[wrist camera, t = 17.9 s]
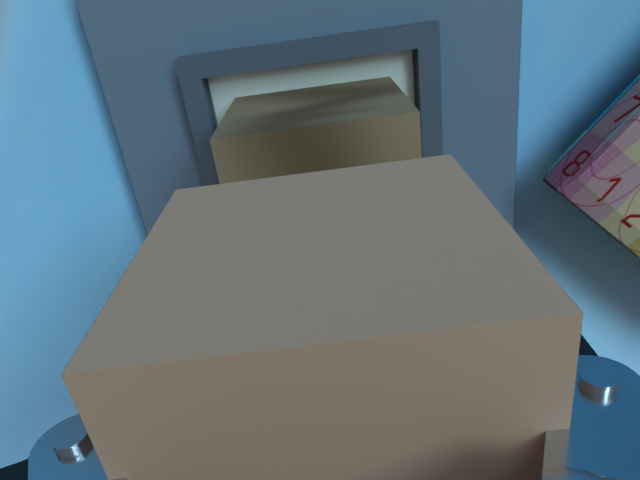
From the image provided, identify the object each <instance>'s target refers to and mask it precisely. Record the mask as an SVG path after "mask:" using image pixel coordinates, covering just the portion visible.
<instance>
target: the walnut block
mask: <svg viewBox="0 0 640 480" xmlns="http://www.w3.org/2000/svg"><path fill="white" fill-rule="evenodd" d="M210 144H211V148H212V153H213V157H214V162H215V166H216V170H217V175H218V179H219V183H220V184H224V183H232V182H239V181H247V180H255V179H263V178H270V177H278V176H286V175H294V174H301V173H309V172H317V171H325V170H332V169H340V168H348V167H356V166H363V165H371V164H379V163H386V162H394V161H402V160H410V159H417V158H422V149H421V126H420V111H419V110H418V109H417V108H416V107H415V106H414V104H413V103H412V102H411V101H410V100H409V98H408V97H407V96H406V95H405V94H404V93H403V91H402V90H401V89H400V88H399V87H398V86H397V84H396V83H395V82H394V81H393V80H392V78H391V77H390V76H389V77H382V78H374V79H367V80H360V81H352V82H345V83H338V84H331V85H323V86H316V87H309V88H301V89H294V90H287V91H279V92H272V93H265V94H258V95H250V96H243V97H236V98H235V99H234V101H233V102H232V104H231V106H230V107H229V109H228V111H227V112H226V114H225V115H224V117H223V119H222V120H221V122H220V124H219V125H218V127H217V129H216V130H215V132H214V134H213V135H212V137H211V139H210Z"/></svg>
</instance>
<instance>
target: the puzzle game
mask: <svg viewBox="0 0 640 480" xmlns="http://www.w3.org/2000/svg"><path fill="white" fill-rule="evenodd" d="M543 180H544V181H545V182H546V183H547V184H548V185H549V186H551V187H552V188H553V189H554V190H555V191H557V192H558V193H559V194H560V195H561V196H563V197H564V198H565V199H566V200H568V201H569V202H570V203H571V204H572V205H574V206H575V207H576V208H577V209H579V210H580V211H581V212H582V213H584V214H585V215H586V216H587V217H588V218H590V219H591V220H592V221H593V222H595V223H596V224H597V225H598V226H599V227H601V228H602V229H603V230H604V231H606V232H607V233H608V234H609V235H611V236H612V237H613V238H614V239H615V240H617V241H618V242H619V243H620V244H622V245H623V246H624V247H625V248H626V249H628V250H629V251H630V252H631V253H633V254H634V255H635V256H636V257H638V258H639V259H640V74H639V75H638V76H637V77H636V78H635V79H634V80H633V81H632V82H631V83H630V84H629V85H628V86H627V87H626V88H625V90H624V91H623V92H622V93H621V94H620V95H619V96H618V97H617V98H616V99H615V100H614V101H613V102H612V103H611V104H610V105H609V106H608V107H607V108H606V109H605V110H604V111H603V112H602V113H601V114H600V115H599V116H598V117H597V119H596V120H595V121H594V122H593V123H592V124H591V125H590V126H589V127H588V128H587V129H586V130H585V131H584V132H583V133H582V134H581V135H580V136H579V137H578V138H577V139H576V140H575V141H574V142H573V143H572V144H571V145H570V146H569V148H568V149H567V150H566V151H565V152H564V153H563V154H562V155H561V156H560V157H559V158H558V159H557V160H556V161H555V162H554V163H553V164H552V165H551V167H550V169H549V170H548V172H547V174H546V175H545V177H544V179H543Z"/></svg>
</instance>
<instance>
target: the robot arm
mask: <svg viewBox="0 0 640 480" xmlns="http://www.w3.org/2000/svg"><path fill="white" fill-rule="evenodd" d="M0 480H108V478H107V475H106V473H105V471H104V469H103V466H102V464H101V462H100V460H99V457H98V455H97V453H96V451H95V448H94V446H93V444H92V442H91V439H90V437H89V435H88V433H87V430H86V428H85V426H84V424H83V421H82V419H81V417H80V415H79V414H78V415H75V416H72V417H70V418H67V419H65V420H63V421H61V422H60V423H58V424H56V425H55V426H53V427H52V428H50V429H49V430H48V431H47V432H46V433H44V434H43V435H42V436H41V437H40V438H39V440H38V441H37V442H36V443H35V445H34V446H33V448H32V450H31V452H30V455H29V459H26V460H24V461H21V462H18V463H16V464H13V465H10V466H7V467H4V468H2V469H0ZM111 480H128V479H127V478H120V479H111ZM542 480H640V376H639V375H638V374H637V373H636V372H635V371H633V370H632V369H630V368H629V367H627V366H625V365H623V364H622V363H619V362H617V361H615V360H612V359H608V358H605V357H600V356H598V355H597V354H596V353H595V351H594V350H593V349H592V347H591V346H590V345H589V344H588V342H587V341H586V340H585V338H584V337H583V336H582V335H581V337H580V346H579V355H578V363H577V372H576V380H575V389H574V397H573V406H572V414H571V423H570V428H569V429H560V430H551V431H546V437H545V448H544V460H543V471H542Z"/></svg>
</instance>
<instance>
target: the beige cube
mask: <svg viewBox="0 0 640 480" xmlns="http://www.w3.org/2000/svg"><path fill="white" fill-rule="evenodd" d="M582 320H583V312H582V311H581V310H580V308H579V307H578V306H577V305H576V304H575V302H574V301H573V300H572V299H571V298H570V296H569V295H568V294H567V293H566V292H565V290H564V289H563V288H562V287H561V286H560V285H559V283H558V282H557V281H556V280H555V279H554V277H553V276H552V275H551V274H550V273H549V271H548V270H547V269H546V268H545V267H544V265H543V264H542V263H541V262H540V261H539V259H538V258H537V257H536V256H535V255H534V253H533V252H532V251H531V250H530V249H529V247H528V246H527V245H526V244H525V243H524V241H523V240H522V239H521V238H520V237H519V235H518V234H517V233H516V232H515V231H514V229H513V228H512V227H511V226H510V225H509V223H508V222H507V221H506V220H505V219H504V217H503V216H502V215H501V214H500V213H499V211H498V210H497V209H496V208H495V207H494V205H493V204H492V203H491V202H490V201H489V199H488V198H487V197H486V196H485V195H484V193H483V192H482V191H481V190H480V189H479V188H478V186H477V185H476V184H475V183H474V182H473V180H472V179H471V178H470V177H469V176H468V174H467V173H466V172H465V171H464V170H463V168H462V167H461V166H460V165H459V164H458V162H457V161H456V160H455V159H454V158H453V156H452V155H451V154H448V155H441V156H433V157H425V158H417V159H410V160H402V161H394V162H386V163H379V164H371V165H363V166H356V167H348V168H340V169H332V170H325V171H317V172H309V173H301V174H294V175H286V176H278V177H270V178H263V179H255V180H247V181H239V182H232V183H224V184H216V185H208V186H201V187H193V188H185V189H177V190H175V192H174V194H173V195H172V197H171V198H170V200H169V202H168V203H167V205H166V207H165V208H164V210H163V211H162V213H161V215H160V216H159V218H158V220H157V221H156V223H155V224H154V226H153V228H152V229H151V231H150V232H149V234H148V236H147V237H146V239H145V241H144V242H143V244H142V245H141V247H140V249H139V250H138V252H137V254H136V255H135V257H134V258H133V260H132V262H131V263H130V265H129V266H128V268H127V270H126V271H125V273H124V275H123V276H122V278H121V279H120V281H119V283H118V284H117V286H116V288H115V289H114V291H113V292H112V294H111V296H110V297H109V299H108V300H107V302H106V304H105V305H104V307H103V309H102V310H101V312H100V313H99V315H98V317H97V318H96V320H95V322H94V323H93V325H92V326H91V328H90V330H89V331H88V333H87V334H86V336H85V338H84V339H83V341H82V343H81V344H80V346H79V347H78V349H77V351H76V352H75V354H74V356H73V357H72V359H71V360H70V362H69V364H68V365H67V367H66V368H65V370H64V372H63V373H62V376H63V379H64V381H65V383H66V385H67V388H68V390H69V392H70V394H71V397H72V399H73V401H74V403H75V406H76V408H77V410H78V412H79V415H80V417H81V419H82V421H83V424H84V426H85V428H86V430H87V433H88V435H89V437H90V439H91V442H92V444H93V446H94V448H95V451H96V453H97V455H98V457H99V460H100V462H101V464H102V466H103V469H104V471H105V473H106V475H107V478H108V480H111V479H120V478H127V479H128V480H542V471H543V460H544V448H545V437H546V431H551V430H560V429H569V428H570V423H571V414H572V406H573V397H574V389H575V380H576V372H577V363H578V355H579V346H580V337H581V329H582Z"/></svg>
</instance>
